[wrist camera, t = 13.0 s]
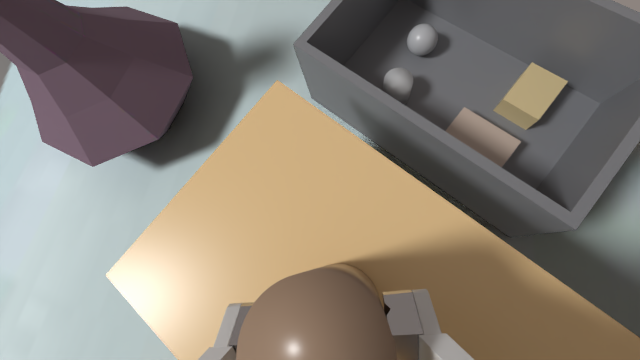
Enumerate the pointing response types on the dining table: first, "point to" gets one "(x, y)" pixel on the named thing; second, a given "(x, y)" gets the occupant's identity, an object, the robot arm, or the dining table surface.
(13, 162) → the dining table surface
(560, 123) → the tub
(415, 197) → the lid
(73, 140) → the flask
